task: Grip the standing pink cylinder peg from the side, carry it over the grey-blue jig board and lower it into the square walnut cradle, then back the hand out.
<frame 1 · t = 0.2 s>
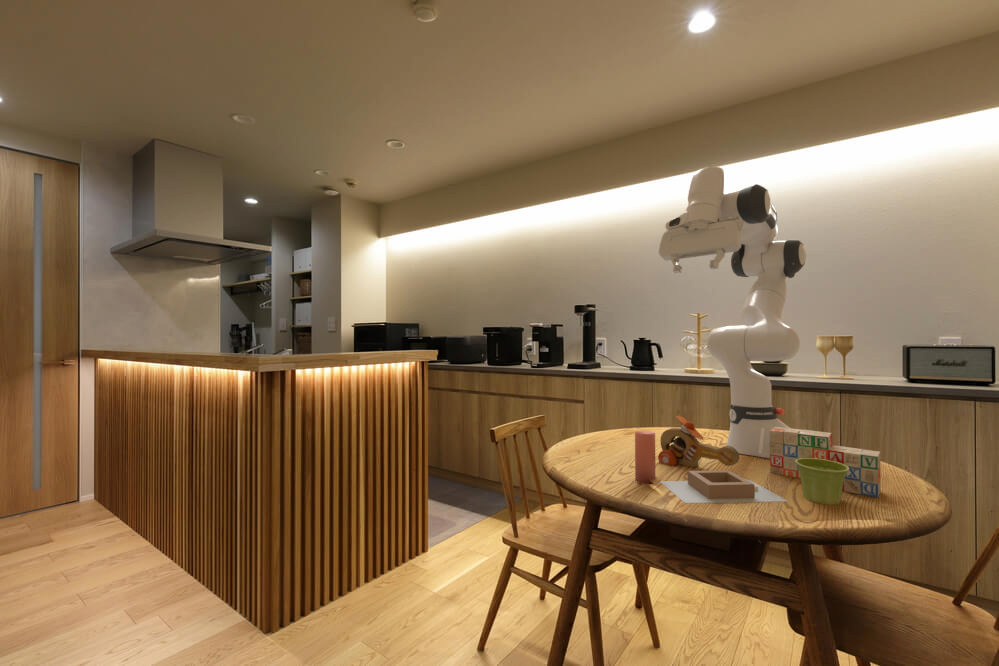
hand: (694, 270, 117), 53 cm above the table, tool tilted 20°, fingers open, 8 cm apart
stack of blocks: (822, 485, 110), on the table
jig: (719, 495, 102), on the table
wing: (741, 484, 106), point 1 cm above the table, touching jig
plant pot: (821, 505, 97), on the table
pink cylinder peg: (645, 481, 113), on the table
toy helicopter: (693, 471, 121), on the table
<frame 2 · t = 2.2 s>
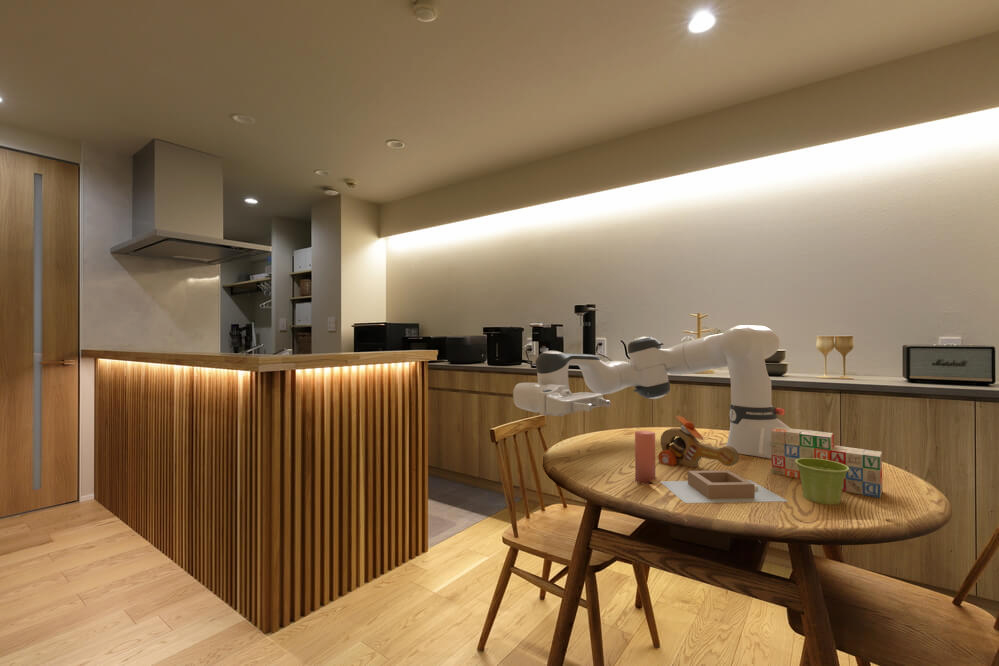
hand: (600, 405, 122), 17 cm above the table, tool horizontal, fingers open, 8 cm apart
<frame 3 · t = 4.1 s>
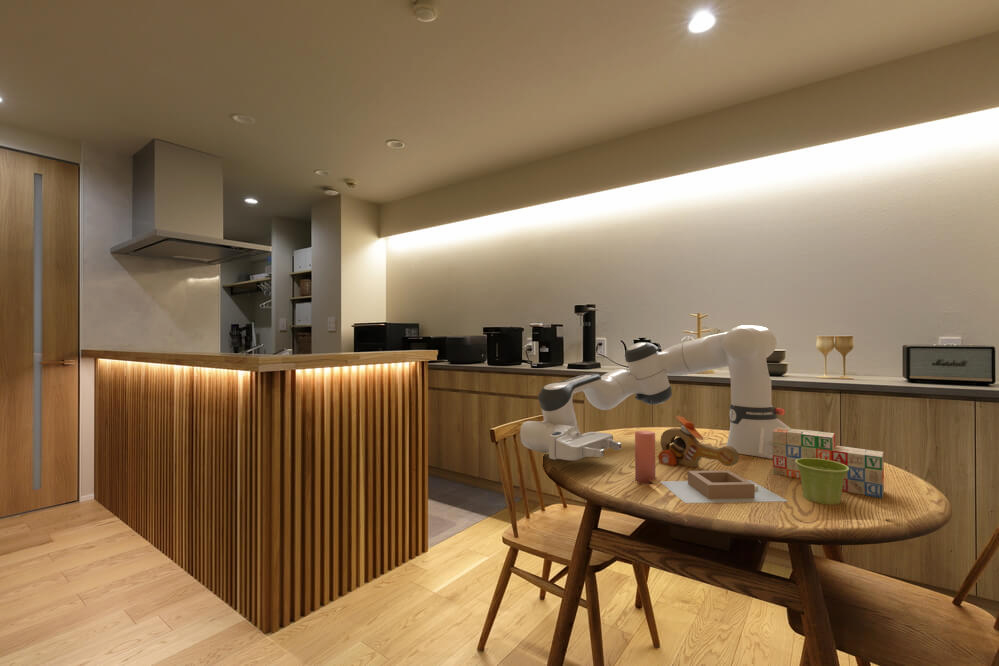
hand: (611, 450, 119), 6 cm above the table, tool horizontal, fingers open, 8 cm apart
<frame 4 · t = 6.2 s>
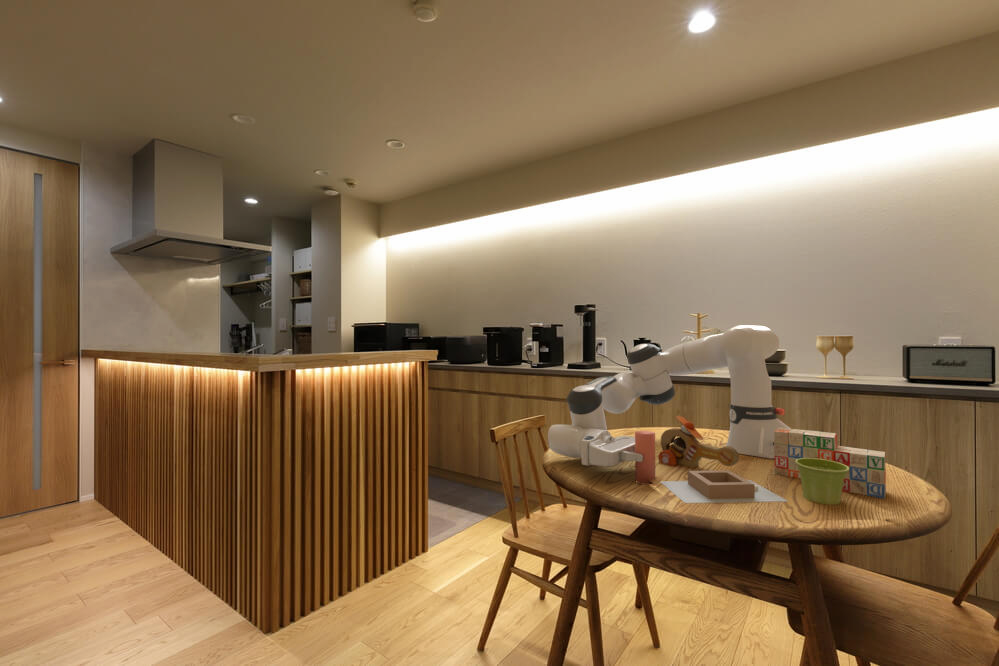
hand: (648, 455, 112), 7 cm above the table, tool horizontal, fingers closed on pink cylinder peg, 5 cm apart
pink cylinder peg: (645, 481, 113), on the table, touching gripper
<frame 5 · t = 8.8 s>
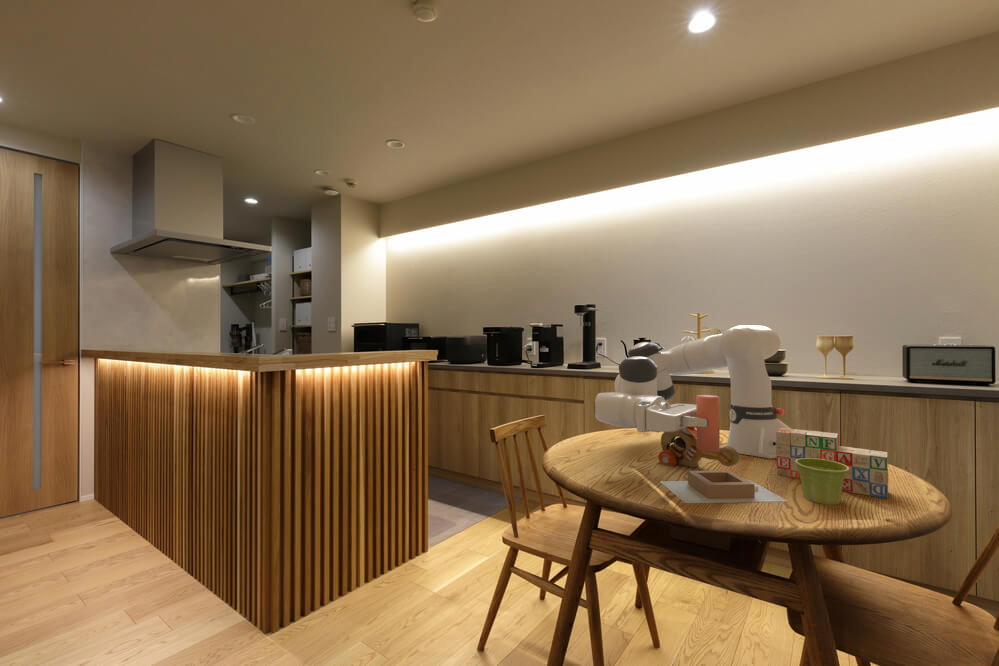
hand: (712, 420, 103), 17 cm above the table, tool horizontal, fingers closed on pink cylinder peg, 5 cm apart
pink cylinder peg: (707, 449, 103), point 10 cm above the table, touching gripper
when the fingers open (9 cm above the table, at t = 11.3 s): pink cylinder peg drops 1 cm, resting on jig.
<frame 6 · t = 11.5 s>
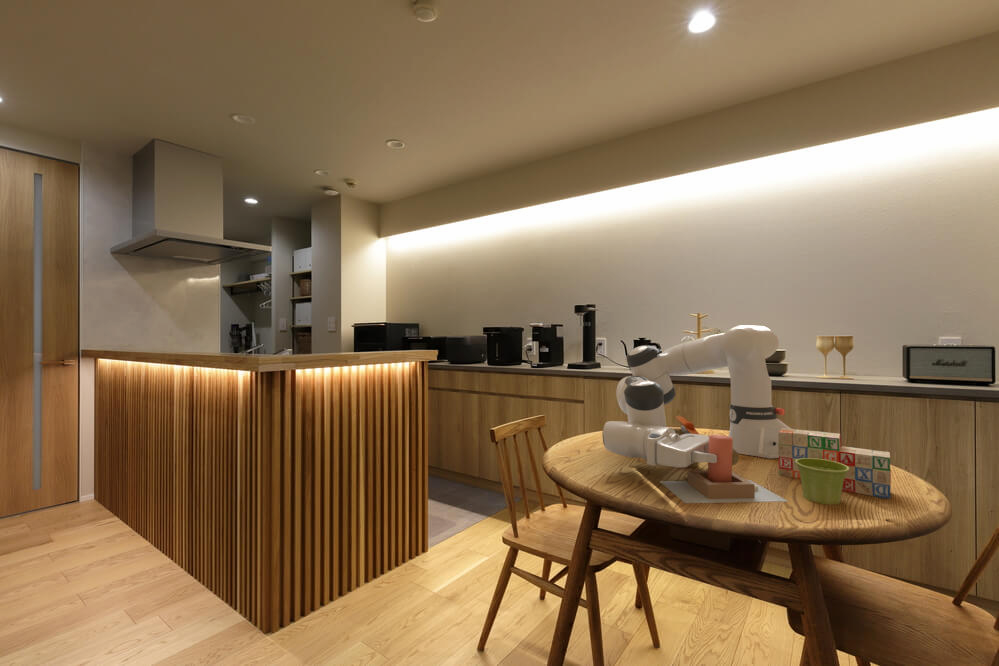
hand: (723, 455, 102), 9 cm above the table, tool horizontal, fingers open, 7 cm apart
pink cylinder peg: (719, 490, 102), point 1 cm above the table, touching jig
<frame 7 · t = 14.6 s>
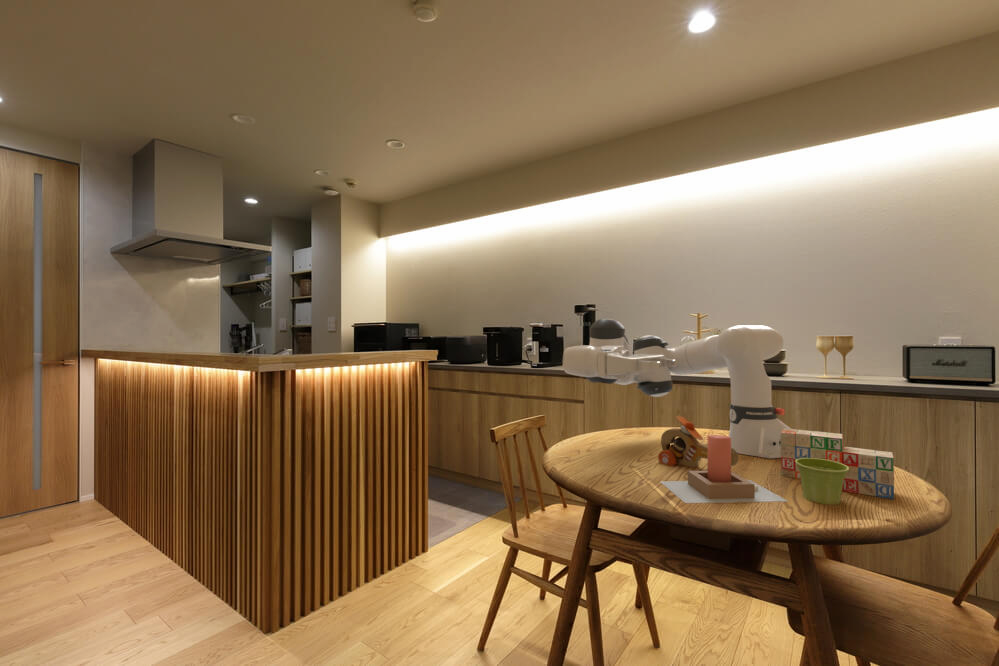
hand: (667, 364, 110), 29 cm above the table, tool horizontal, fingers open, 8 cm apart
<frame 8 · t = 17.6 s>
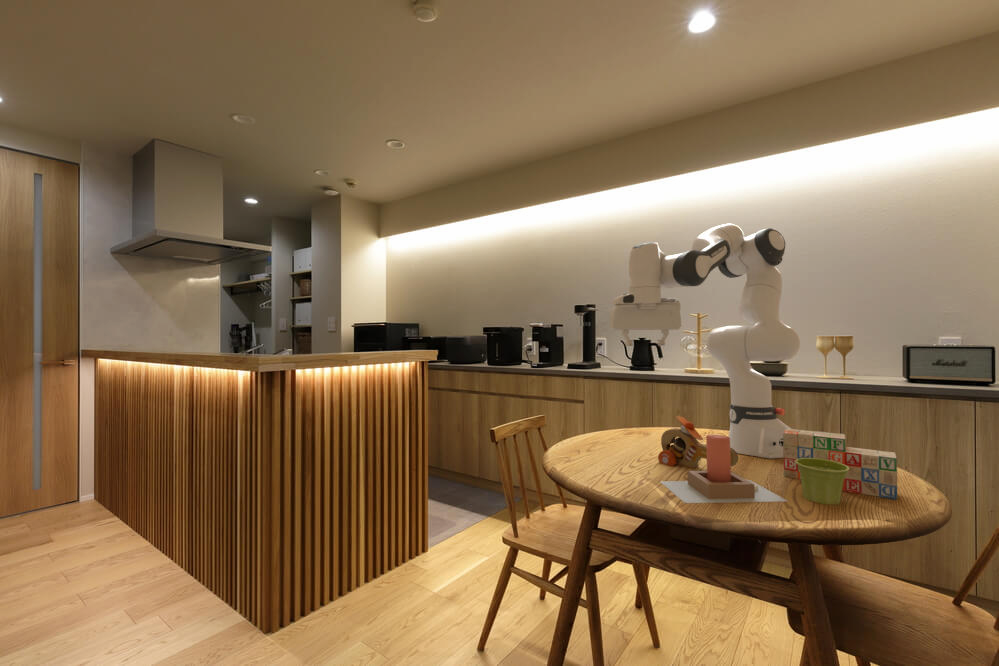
hand: (645, 345, 132), 33 cm above the table, tool pointing down, fingers open, 8 cm apart
at the end: pink cylinder peg 0.1 cm off-centre on the jig, point 1.3 cm above the jig's base; pink cylinder peg tilted 1°; the gripper is holding nothing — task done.
